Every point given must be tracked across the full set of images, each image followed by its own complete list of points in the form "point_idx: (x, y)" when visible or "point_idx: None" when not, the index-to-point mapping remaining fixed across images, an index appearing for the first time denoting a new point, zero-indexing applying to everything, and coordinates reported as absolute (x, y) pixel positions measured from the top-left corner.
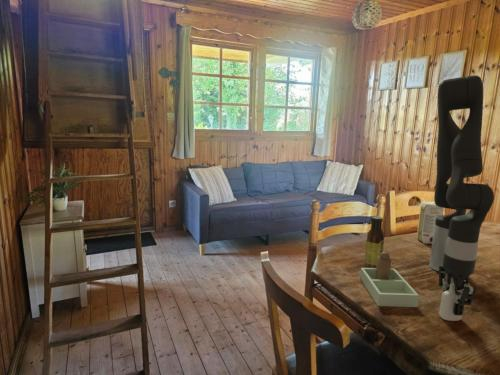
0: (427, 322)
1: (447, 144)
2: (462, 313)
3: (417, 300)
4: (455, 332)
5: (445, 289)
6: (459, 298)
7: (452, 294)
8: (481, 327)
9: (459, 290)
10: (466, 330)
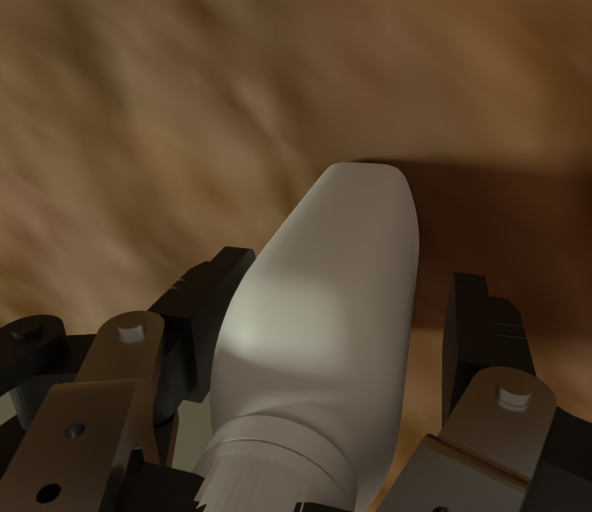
0: None
1: None
2: (517, 312)
3: (206, 439)
4: (583, 341)
5: (175, 430)
6: (401, 395)
7: (361, 509)
8: (553, 21)
9: (322, 466)
10: (574, 228)
